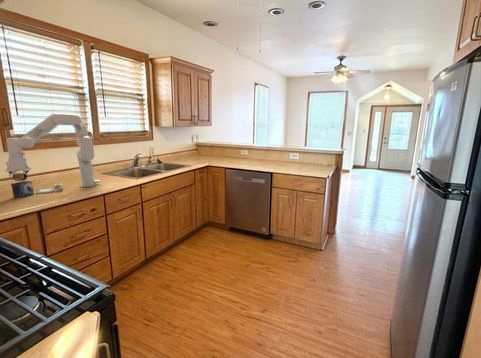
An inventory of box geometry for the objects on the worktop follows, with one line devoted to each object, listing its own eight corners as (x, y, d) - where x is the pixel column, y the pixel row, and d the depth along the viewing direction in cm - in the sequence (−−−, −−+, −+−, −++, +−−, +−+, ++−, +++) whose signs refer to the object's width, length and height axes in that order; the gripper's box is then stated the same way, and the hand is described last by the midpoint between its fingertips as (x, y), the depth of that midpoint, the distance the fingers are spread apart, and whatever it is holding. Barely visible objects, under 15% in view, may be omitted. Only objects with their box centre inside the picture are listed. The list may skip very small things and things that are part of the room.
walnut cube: (26, 179, 194) (24, 172, 193) (24, 180, 190) (22, 173, 189) (17, 179, 192) (16, 173, 191) (15, 181, 188) (14, 174, 187)
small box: (19, 198, 188) (16, 184, 186) (13, 197, 190) (10, 183, 188) (34, 194, 198) (32, 181, 196) (28, 193, 200) (25, 180, 197)
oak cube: (63, 189, 212) (62, 183, 211) (62, 190, 208) (61, 184, 207) (56, 190, 210) (55, 184, 209) (55, 191, 206) (54, 185, 205)
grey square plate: (54, 189, 212) (54, 188, 212) (52, 192, 203) (51, 191, 203) (39, 190, 208) (39, 189, 207) (36, 194, 199) (36, 192, 199)
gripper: (32, 153, 194) (36, 177, 198) (2, 155, 187) (7, 179, 191) (29, 155, 187) (33, 179, 191) (-2, 156, 180) (4, 181, 184)
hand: (20, 179), depth 191 cm, fingers closed on walnut cube, 5 cm apart
